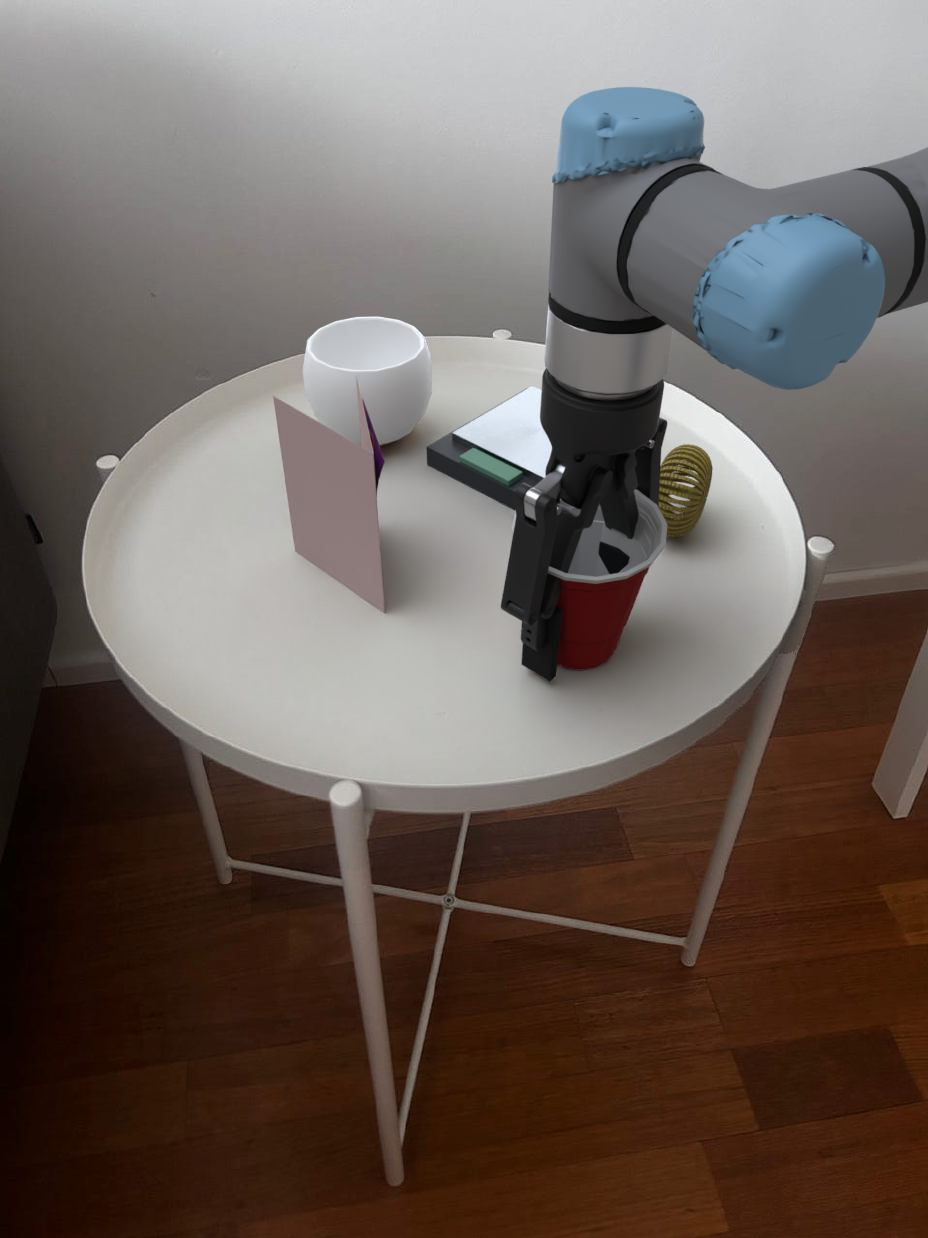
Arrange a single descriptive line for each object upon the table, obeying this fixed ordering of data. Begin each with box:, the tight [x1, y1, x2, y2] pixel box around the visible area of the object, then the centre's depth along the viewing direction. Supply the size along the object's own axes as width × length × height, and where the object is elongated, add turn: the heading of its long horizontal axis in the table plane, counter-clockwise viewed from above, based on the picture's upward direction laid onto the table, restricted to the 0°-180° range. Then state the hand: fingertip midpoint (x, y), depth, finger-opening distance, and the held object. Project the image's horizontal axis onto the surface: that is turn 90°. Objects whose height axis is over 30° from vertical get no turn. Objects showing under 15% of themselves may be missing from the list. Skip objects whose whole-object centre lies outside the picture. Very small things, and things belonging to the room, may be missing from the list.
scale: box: [426, 385, 552, 511], centre depth 96 cm, size 14×15×3 cm
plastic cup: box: [510, 489, 667, 671], centre depth 74 cm, size 11×11×12 cm
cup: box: [302, 316, 433, 447], centre depth 98 cm, size 12×12×10 cm
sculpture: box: [659, 443, 713, 538], centre depth 86 cm, size 8×4×8 cm, turn 155°
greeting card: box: [272, 375, 386, 614], centre depth 79 cm, size 11×7×15 cm, turn 11°
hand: (574, 640), depth 77 cm, fingers closed on plastic cup, 8 cm apart
